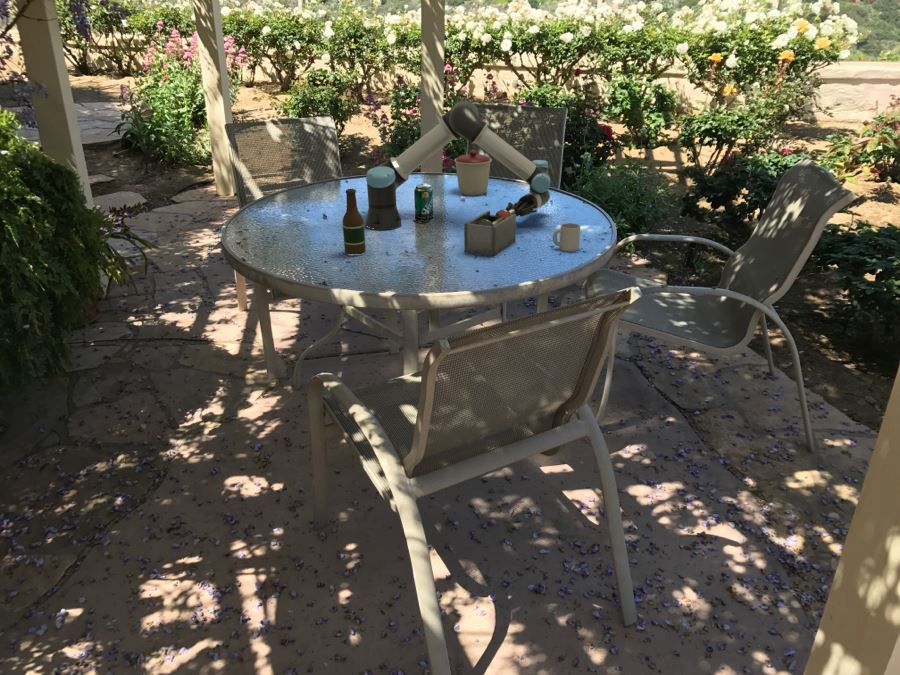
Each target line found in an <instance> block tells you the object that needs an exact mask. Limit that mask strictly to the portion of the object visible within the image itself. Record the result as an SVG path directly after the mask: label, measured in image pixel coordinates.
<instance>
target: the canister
mask: <svg viewBox="0 0 900 675" xmlns="http://www.w3.org/2000/svg"><path fill="white" fill-rule="evenodd" d="M468 153H469V154H462V155H459V156H457V157H455V159H454V161H453V162H455V168H456V169H455V170H456V177H457V184H458V190H459V192H460V193H461V194H462V195H463V194H464V196H468V195H470V196H471V197H474V196H475V197H476V195H478V196H481V195H485V194H486V193H487V190H488V185H489V179H490V169H491V162H492V161H493V159H492V158H490V157H489V156H488V155H485V154H477V150H475V149H470V150H469V152H468Z"/></svg>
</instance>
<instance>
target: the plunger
mask: <svg viewBox="0 0 900 675" xmlns="http://www.w3.org/2000/svg"><path fill="white" fill-rule="evenodd" d="M510 215H511V213H510V212H509V211H507V210H506V209H500V210H498V211H497V212H496V213H495V216H498V219H497V220H496V221H494V222H491V221H489V220H487V219H482V220H480V221H478V222H477V223H476V224H477V225H485V226H494V225H496V224H497V223H499V222H501V221H502V220H503V217H509V216H510Z"/></svg>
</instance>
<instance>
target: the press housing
mask: <svg viewBox="0 0 900 675" xmlns="http://www.w3.org/2000/svg"><path fill="white" fill-rule="evenodd" d="M495 215H496V214H495ZM495 215H493V214H491V211H490V210H486V211H484V212H482V213H481V214H479V215H477V216H475V217H474V218H472V219H471V220H468V221H467V222H465V223H463V226H464V227H463V228H464V232H463V233H464V235H463V236H464V237H463V238H464V240H463V241H464V247H463V248H464V253H465V252H467V253H466V254H470V253H473V254H472V255H477V254H479V255H478V256H485V257H492V258H495V257H496V256H497V255H499V254H500V253H502V252H503V251H505V250H507V249H508V248H509V247H510V246H511V245H513V244H515V243H516V230H517V229H516V228H517V227H516V225H517V224H516V223H517V216H516V214H512V215H510V216H509V217H503V220H502V221H501V222H499V223H497V224H496V225H494V226H485V225H477V224H476V223H477V222H478V221H480V220H482V219H487V220H489V221H491V222H494V221H496V220H497V219H498V216H495ZM504 249H505V250H504ZM501 251H502V252H501ZM498 253H499V254H498ZM494 256H495V257H494Z"/></svg>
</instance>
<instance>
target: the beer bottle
mask: <svg viewBox="0 0 900 675" xmlns="http://www.w3.org/2000/svg"><path fill="white" fill-rule="evenodd" d="M356 193H357V191H356V189H355V188H348V189H346V190H345V194H346V195H345V196H346V212H345V213H344V215H343V218H342V234H343V246H344V253H345V252H346V253H347V254H362V253H364V252H365V251H366V252H367V250H366V249H367V248H366V246H367V245H366V235H365V234H366V233H365V223H364V218H363V216H362V214H361V213H360V212H359V209H358V203H357V197H356V196H357V195H356ZM366 252H365V253H366ZM346 253H345V254H346ZM365 253H364V254H365ZM347 254H346V255H347Z"/></svg>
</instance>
